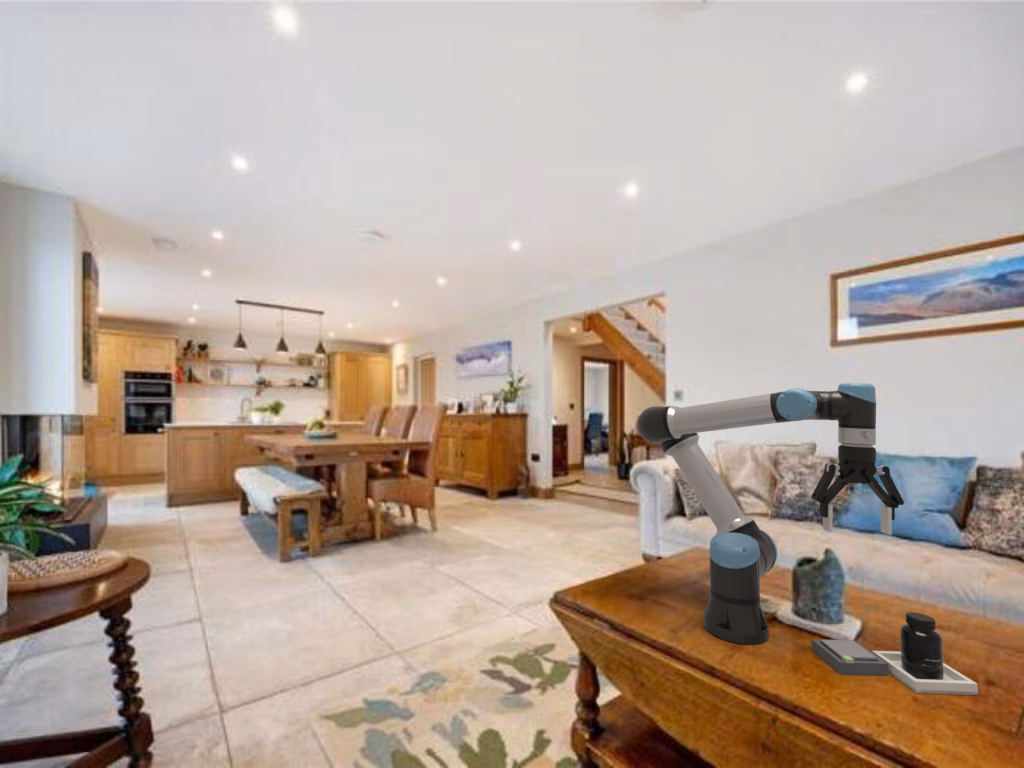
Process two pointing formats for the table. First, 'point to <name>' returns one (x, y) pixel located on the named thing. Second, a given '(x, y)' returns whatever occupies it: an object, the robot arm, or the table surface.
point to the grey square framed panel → (850, 662)
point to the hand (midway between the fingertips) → (856, 532)
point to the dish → (949, 684)
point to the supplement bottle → (921, 647)
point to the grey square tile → (848, 649)
